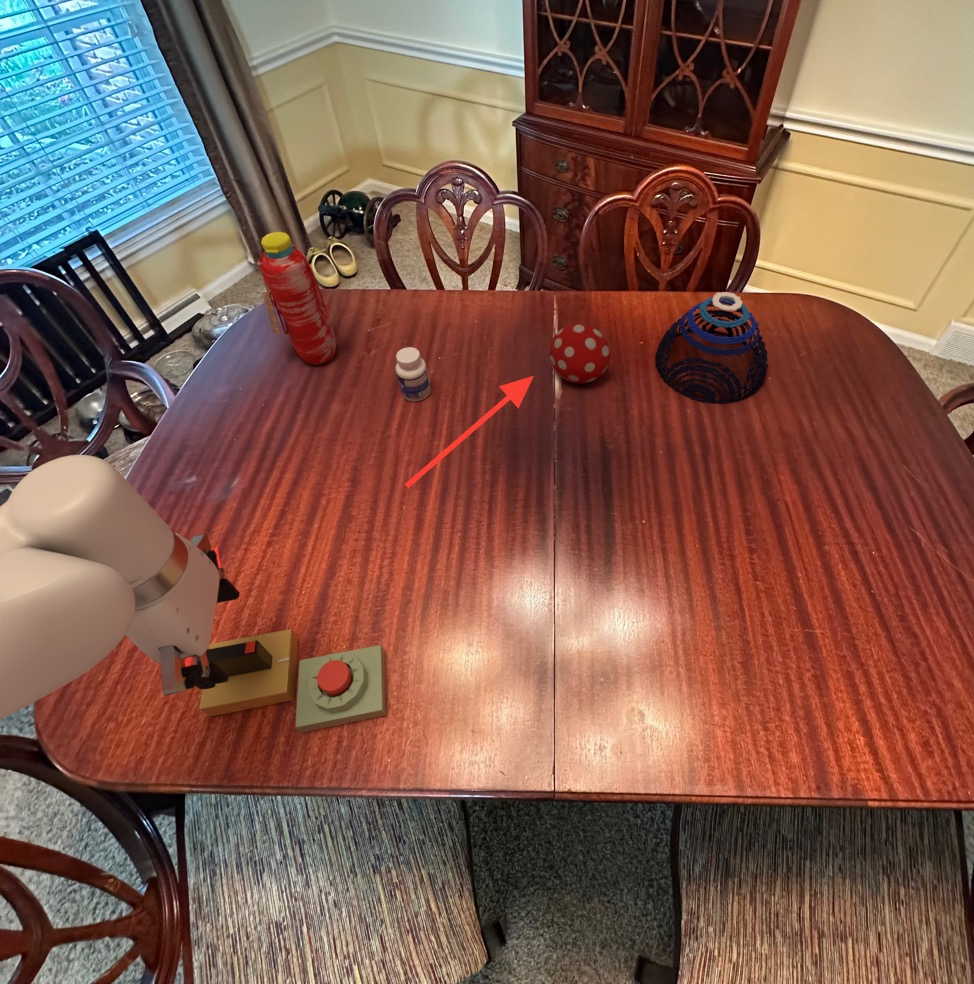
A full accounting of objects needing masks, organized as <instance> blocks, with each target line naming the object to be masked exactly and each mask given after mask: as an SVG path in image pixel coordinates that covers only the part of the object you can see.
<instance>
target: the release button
mask: <svg viewBox="0 0 974 984" xmlns="http://www.w3.org/2000/svg"><path fill="white" fill-rule="evenodd" d="M351 681H352V674H351V671H350V670H349V668H348V667H347V665H346V664H345V663H344V662H342V661H340V660H333V661H329V662H327V663H326V664H325V665H323V666H322V668H321V669H320V670H319V672H318V676H317V682H318V685H319V687H320V688H321V689H322V690H323V691H324V692H325V693H326V694H327V695H330V696H336V695H339V694H342V693H343V692H345V691H346V690H347V689H348V687H349V686H350V684H351Z"/></svg>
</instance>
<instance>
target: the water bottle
mask: <svg viewBox="0 0 974 984" xmlns="http://www.w3.org/2000/svg"><path fill="white" fill-rule="evenodd" d="M260 243H261V246H262V249H263V250H264V252H263V253H261V255H260V259H259V260H257V261H256V264H257V266H258V269H259V272H260V276H261V278H262V281H263V285H264V287H265V289H266V291H262V292H261V294H262V297H263V300H264V304H265V307H266V312H267V314H268V319H269V322H270V325H271V329H272V332H273V334H276V335H281V330H280V326H279V323H278V318H279V321H280V324H281V327H282V331H283V333H284V334H285V335H288V336H289V340H290V342H291V344H292V346H293V348H294V351H295V352H296V353H297V355H298V356H299V357H300V358H301V359H302V360H303V361H304V362H305V363H307V364H310V365H314V366H318V365H324V364H325V363H328V362H329V361H331V360H332V359H333V358H334V356H335V355H336V350H337V338H336V335H335V332H334V329H333V326H332V324H331V322H330V319H329V318H330V314H329V310H328V307H327V304H325V301H324V297H323V293H322V290H321V288H320V286H319V282H318V281H317V278H316V276H315V272H314V270H313V268H312V266H311V264H310V262H309V261H308V258H307V256H306V255H305V254H304V253H303V252H302V250H300V249H299V248H298V247H297V246H296V245H294V244H293V243H292V240H291V237H290V235H289V234H287V233H286V232H282V231H273V232H270V233H268V234H265V235H264V236H263V237H262V238H261V242H260ZM275 310H276V311H275ZM276 312H277V315H276ZM277 316H278V318H277Z"/></svg>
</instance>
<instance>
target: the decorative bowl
mask: <svg viewBox="0 0 974 984" xmlns="http://www.w3.org/2000/svg"><path fill="white" fill-rule="evenodd" d="M708 308H714V309H708ZM716 308H717V309H716ZM697 310H698V311H699V312H696V311H697ZM694 312H696V313H694ZM734 312H735V313H739V314H740V315H738V314H735V313H734ZM725 318H726V319H725ZM748 321H749V322H751V323H749V322H748ZM697 322H698V323H697ZM704 322H705V323H704ZM701 324H702V326H700V325H701ZM759 325H760V324H759V322H758V321H756V318H755V316H754V315H753V313H752V312H750V311H749V309H748V307H747V306H746V304H744V303H743V300H742V299H741V296H738V295H737V294H736V293H734V292H728V291H725V292H724V291H722V292H718V291H717V292H716V293H715V294H713V296H711V297H707V299H706V298H705V300H704V301H702V302H700V303H696V304H695V305H694V306H692V308H689V310H687V311H686V312H685V313H684V314H682V315H681V317H680V318H678V319H677V321H674V322H673V323H671V325H670V326H669V329H666V330H665V333H664V334H663V336H662V337H661V339H660V341H659V344H658V345H657V349H656V353H655V354H654V356H655V357H654V360H655V362H654V367H655V368H656V371H657V373H658V374H659V375H660V376H659V378H660V379H662V382H663V383H665V384H666V385H667V386H668V387H669V388H670V389H672V390H673V391H674V392H675V393H679V394H680V395H683V396H684V397H686V398H689V400H693V401H697V402H701V403H704V404H706V403H708V404H720V405H723V404H733V403H735V402H737V403H738V402H740V401H744V400H745V399H746V398H747V399H748V398H750V397H751V396H754V394H756V392H758V390H760V389H761V388H762V386H763V384H764V381H765V378H766V375H767V373H768V368H769V363H767V362H768V349H767V348H766V343H765V341H764V340H763V339H764V337H763V336H762V335H761V334H760V333H761V329H760V327H759ZM707 327H708V329H707ZM738 327H739V328H738ZM719 328H721V329H722V328H723V329H724V330H725V331H726V332H723V331H719V330H718V329H719ZM733 329H734V330H733ZM690 333H693V335H696V336H697V337H698V338H701V339H702V340H705V341H706V342H709V343H714V344H717V345H726V346H728V345H729V346H731V345H737V344H739V345H740V344H743V345H744V346H740V347H734V348H722V349H721V348H717V347H714V346H713V347H712V346H708V345H705V344H704V343H702V342H701V341H698V340H696V339H695V338H694V337H693V336H692V335H690ZM714 333H715V334H720V336H718V335H714ZM734 334H736V335H734ZM721 335H722V336H721ZM723 335H724V336H723ZM679 336H681V337H682V338H683V339H684V340H685V341H686V342H687V344H689V345H691V347H694V349H698V351H702V352H703V353H705V354H710V355H713V356H718V357H720V356H722V357H724V356H725V357H726V356H727V357H733V356H739V355H742V354H746V353H747V352H750V350H751V351H752V352H753V353H752V357H751V359H752V361H750V363H749V367H748V370H747V373H746V376H745V380H744V382H743V384H742V383H741V380H740V379H739V378H738V376H737V375H736V373H735V372H734V370H731V368H730V367H729V366H725V364H722V362H719V361H717V362H715V361H711V360H708V359H703V358H702V357H699V356H696V357H695V356H690V357H689V356H687V357H686V358H683V359H680V360H678V361H677V362H676V361H675V362H673V363H671V364H670V366H668V362H669V359H670V356H671V354H670V353H672V350H673V348H672V347H673V346H674V343H675V340H676V338H677V337H679ZM752 339H753V340H752ZM747 341H748V343H747ZM716 367H717V368H716ZM720 371H721V372H720ZM689 372H690V373H689ZM698 372H701V373H698ZM709 375H712V376H709ZM692 376H694V377H692ZM695 376H698V377H699V378H695ZM687 377H692V378H687ZM682 378H683V380H682ZM685 378H686V379H685ZM680 380H681V381H680ZM707 380H712V381H713V382H711V381H707ZM673 381H674V382H673ZM720 381H721V382H720ZM672 382H673V384H672ZM678 382H679V384H677V383H678ZM696 382H698V383H696ZM688 383H689V384H688ZM691 383H692V384H691ZM700 383H703V384H700ZM714 383H715V384H714ZM676 384H677V386H676ZM704 384H706V385H704ZM716 384H718V385H719V386H720V388H721V389H720V388H719V386H717V385H716ZM683 385H684V386H683ZM724 385H725V386H726V387H725V386H724ZM709 386H710V387H709ZM681 387H683V388H682V390H680V388H681ZM712 388H713V389H712ZM714 390H715V391H714ZM722 391H723V393H724V395H722ZM715 392H716V393H717V394H718V398H719V399H718V400H717V396H716V393H715ZM695 394H701V395H702V397H703V398H701V397H696V396H694V395H695ZM728 394H730V395H728ZM747 399H746V400H747Z"/></svg>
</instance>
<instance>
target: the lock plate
mask: <svg viewBox="0 0 974 984" xmlns="http://www.w3.org/2000/svg"><path fill="white" fill-rule="evenodd" d="M256 640H258V641H259V642H260V643H261V644H262V645H263V647H264V648H265V649H266V650H267V651H268V652H269V653H270V654H271V655H272V667H271V669H266V670H261V671H256V672H251V673H245V674H240V675H235V676H230V677H228V681H227V682H224V683H218V684H216V685H215V687H214V688H210V689H201V695H200V700H199V705H198V710H199V711H201V712H202V713H204V714H205V715H206V716H207V717H211V718H212V717H216V716H220V715H221V716H222V715H226V714H231V713H237V712H241V711H245V710H246V711H247V710H251V709H256V708H261V707H265V706H271V705H272V706H273V705H276V704H281V703H286V702H291V701H295V700H296V699H295V697H296V683H297V682H296V681H297V670H298V669H297V668H298V654H299V640H300V638H299V637H298V636H297V634H296V633H295V632H294V631H293V629H291V628H290V629H285V630H278V631H273V632H267V633H261V634H256V635H252V636H251V635H250V636H246V637H239V638H235V639H229V640H223V641H218V642H213V643H209V646H208V649H213V648H218V647H224V646H229V645H235V644H240V643H245V642H251V641H256Z"/></svg>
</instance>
